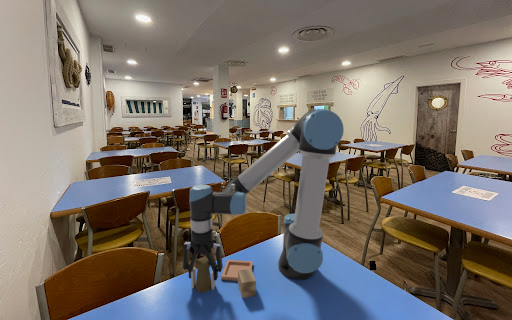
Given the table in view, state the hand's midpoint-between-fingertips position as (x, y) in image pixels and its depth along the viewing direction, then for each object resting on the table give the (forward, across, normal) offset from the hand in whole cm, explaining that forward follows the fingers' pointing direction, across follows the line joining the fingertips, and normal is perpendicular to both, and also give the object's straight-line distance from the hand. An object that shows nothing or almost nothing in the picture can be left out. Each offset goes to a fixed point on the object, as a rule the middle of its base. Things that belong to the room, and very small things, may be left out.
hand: (203, 286), depth 89 cm
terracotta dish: (0, -11, -10) cm, 15 cm away
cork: (0, 0, 0) cm, 0 cm away
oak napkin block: (0, -16, 0) cm, 16 cm away
